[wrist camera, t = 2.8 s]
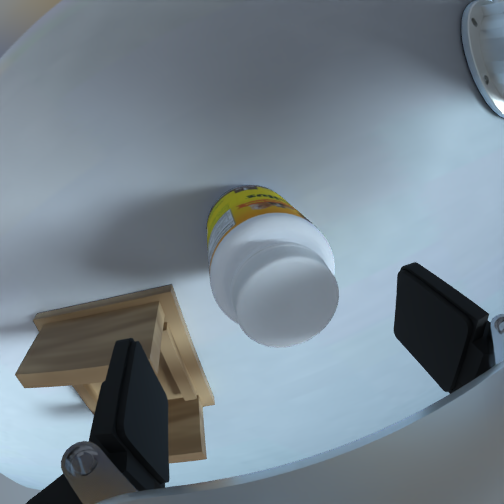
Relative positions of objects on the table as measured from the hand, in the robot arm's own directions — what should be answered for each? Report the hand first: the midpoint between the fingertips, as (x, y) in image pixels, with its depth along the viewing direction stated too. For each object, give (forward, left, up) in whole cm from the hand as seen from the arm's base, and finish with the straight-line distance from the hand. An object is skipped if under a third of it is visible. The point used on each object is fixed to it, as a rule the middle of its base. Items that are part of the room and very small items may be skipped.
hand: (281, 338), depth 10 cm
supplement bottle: (0, +1, -12) cm, 12 cm away
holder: (+9, -11, -11) cm, 18 cm away
